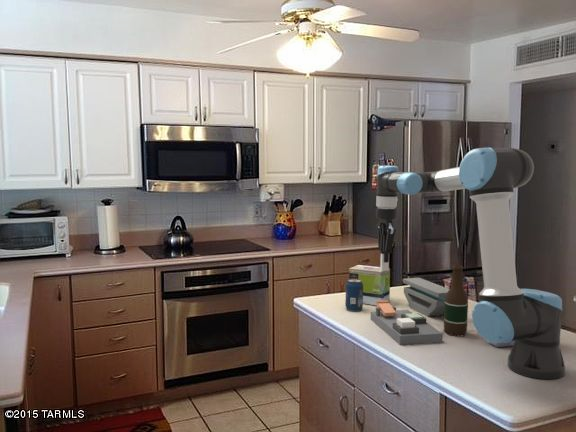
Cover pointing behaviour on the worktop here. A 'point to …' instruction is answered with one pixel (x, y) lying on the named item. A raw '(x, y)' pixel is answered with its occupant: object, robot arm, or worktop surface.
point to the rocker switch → (386, 308)
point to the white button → (405, 323)
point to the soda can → (354, 295)
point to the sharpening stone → (425, 296)
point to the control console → (406, 335)
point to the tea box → (372, 283)
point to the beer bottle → (456, 305)
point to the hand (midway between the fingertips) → (384, 270)
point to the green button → (413, 316)
